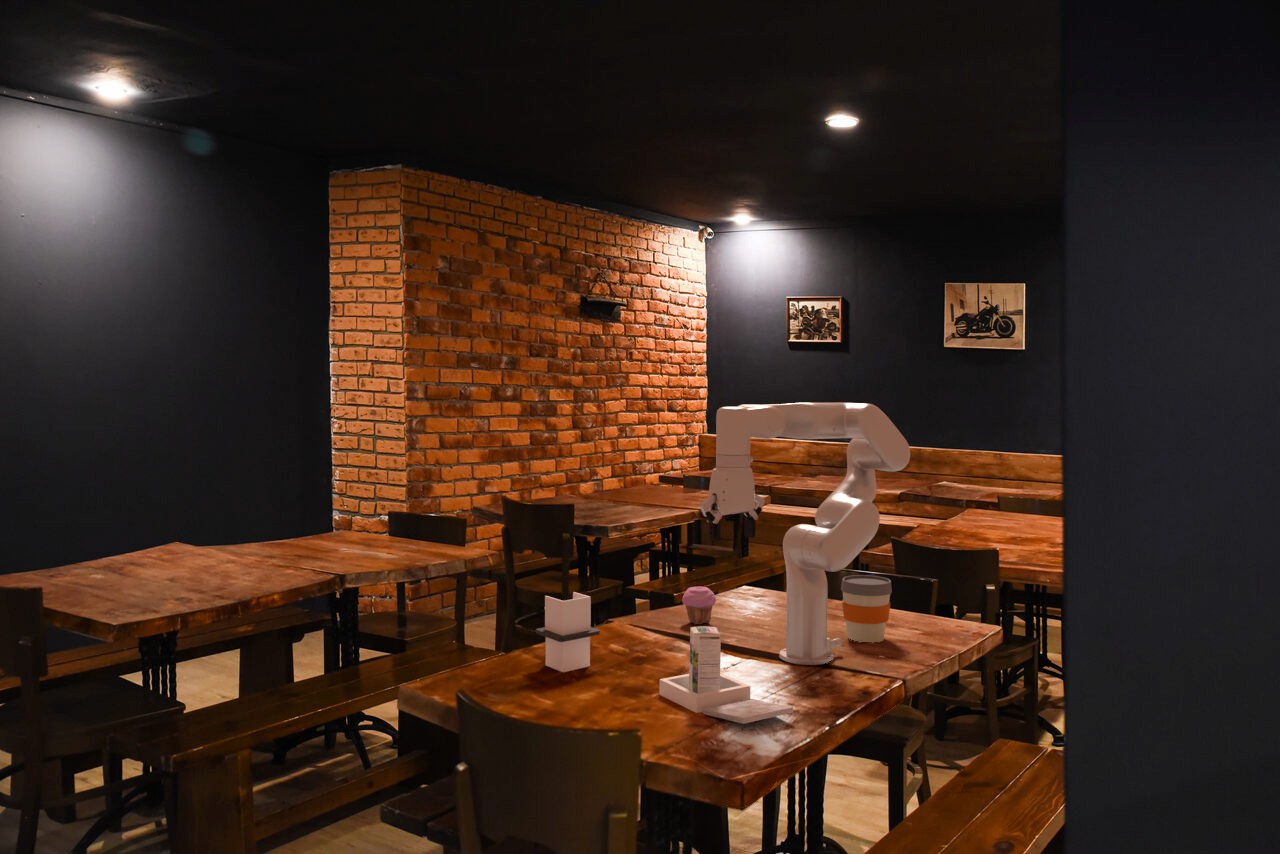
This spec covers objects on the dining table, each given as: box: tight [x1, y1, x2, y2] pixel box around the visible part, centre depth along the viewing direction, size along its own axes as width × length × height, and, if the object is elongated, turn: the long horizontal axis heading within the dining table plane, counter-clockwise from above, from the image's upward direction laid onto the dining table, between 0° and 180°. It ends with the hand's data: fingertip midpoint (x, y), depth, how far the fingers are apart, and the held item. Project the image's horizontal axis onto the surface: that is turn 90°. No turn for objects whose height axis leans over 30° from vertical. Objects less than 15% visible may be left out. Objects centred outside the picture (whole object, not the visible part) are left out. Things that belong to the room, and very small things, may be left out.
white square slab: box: [702, 698, 794, 725], centre depth 199 cm, size 13×12×1 cm
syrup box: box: [688, 625, 722, 694], centre depth 211 cm, size 6×6×14 cm
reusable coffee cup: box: [840, 574, 893, 644], centre depth 259 cm, size 13×13×15 cm
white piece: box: [659, 672, 751, 714], centre depth 211 cm, size 13×13×4 cm
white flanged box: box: [535, 591, 601, 673], centre depth 234 cm, size 25×24×16 cm
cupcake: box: [681, 586, 717, 625], centre depth 275 cm, size 9×9×10 cm
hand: (732, 538), depth 228 cm, fingers open, 9 cm apart
